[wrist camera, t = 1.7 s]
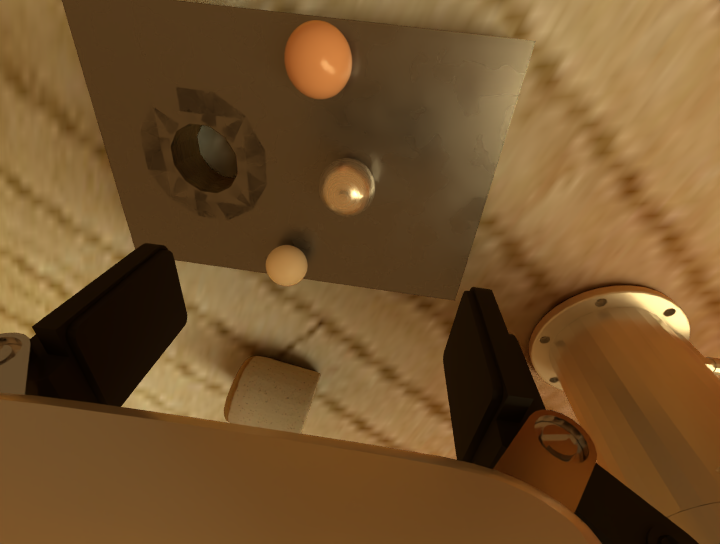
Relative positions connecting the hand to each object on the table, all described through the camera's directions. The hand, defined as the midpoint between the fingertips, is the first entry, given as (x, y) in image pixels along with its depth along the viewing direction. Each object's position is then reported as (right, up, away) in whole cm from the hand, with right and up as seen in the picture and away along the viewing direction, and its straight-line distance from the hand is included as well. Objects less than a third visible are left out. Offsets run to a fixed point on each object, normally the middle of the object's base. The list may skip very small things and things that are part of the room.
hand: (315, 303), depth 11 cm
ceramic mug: (-7, -11, +29) cm, 32 cm away
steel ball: (+1, +6, +10) cm, 12 cm away
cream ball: (-4, +1, +14) cm, 15 cm away
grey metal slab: (-3, +10, +15) cm, 18 cm away
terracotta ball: (-1, +12, +7) cm, 14 cm away
